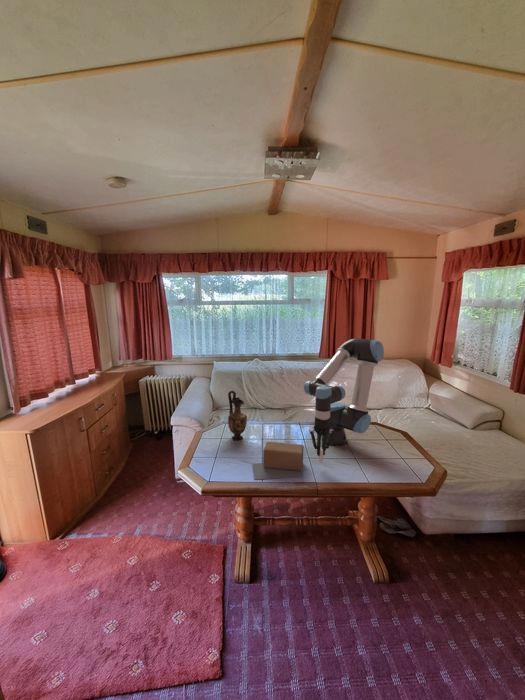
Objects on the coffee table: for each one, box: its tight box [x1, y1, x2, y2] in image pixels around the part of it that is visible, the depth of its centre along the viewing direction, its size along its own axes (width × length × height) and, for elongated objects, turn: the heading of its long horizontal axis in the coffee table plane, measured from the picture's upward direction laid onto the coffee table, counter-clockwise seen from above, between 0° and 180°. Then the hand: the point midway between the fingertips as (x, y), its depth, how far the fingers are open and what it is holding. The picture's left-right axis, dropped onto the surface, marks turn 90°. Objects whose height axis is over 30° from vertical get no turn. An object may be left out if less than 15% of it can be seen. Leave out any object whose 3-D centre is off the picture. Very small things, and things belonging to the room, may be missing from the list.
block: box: [262, 441, 304, 472], centre depth 151 cm, size 10×10×20 cm
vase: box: [227, 390, 248, 442], centre depth 180 cm, size 12×12×30 cm
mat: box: [251, 462, 304, 481], centre depth 147 cm, size 24×14×1 cm, turn 96°
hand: (320, 460), depth 148 cm, fingers closed
